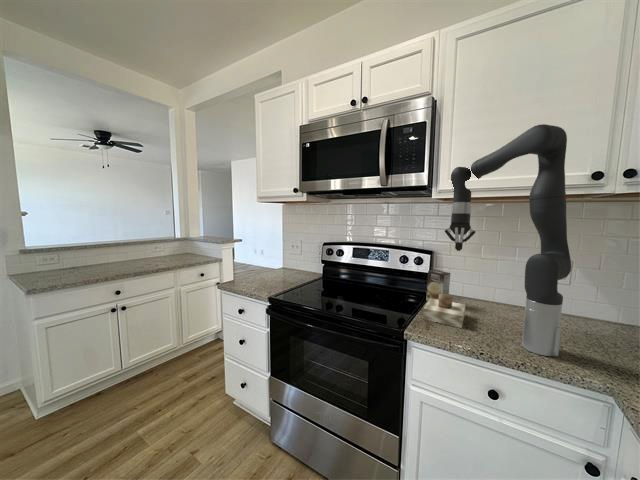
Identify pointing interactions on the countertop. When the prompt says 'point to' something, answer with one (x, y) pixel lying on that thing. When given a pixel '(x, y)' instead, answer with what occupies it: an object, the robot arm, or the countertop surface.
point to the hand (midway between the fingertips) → (458, 250)
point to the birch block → (444, 313)
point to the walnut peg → (445, 301)
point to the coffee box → (437, 284)
